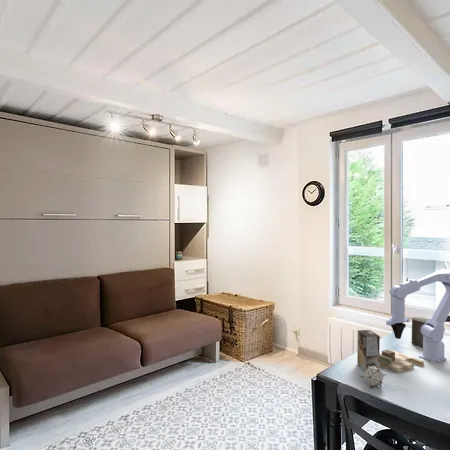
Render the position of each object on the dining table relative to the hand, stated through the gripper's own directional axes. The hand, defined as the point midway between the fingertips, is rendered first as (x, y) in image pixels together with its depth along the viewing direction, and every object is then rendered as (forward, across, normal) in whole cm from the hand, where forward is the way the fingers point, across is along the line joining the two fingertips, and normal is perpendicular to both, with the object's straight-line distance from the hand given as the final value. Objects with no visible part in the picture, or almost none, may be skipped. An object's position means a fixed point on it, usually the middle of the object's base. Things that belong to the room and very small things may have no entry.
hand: (397, 338), depth 171 cm
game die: (+10, +36, +16) cm, 41 cm away
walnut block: (+7, +12, +4) cm, 15 cm away
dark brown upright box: (+10, -29, -7) cm, 31 cm away
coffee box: (+10, +24, +3) cm, 26 cm away
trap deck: (+9, +7, +4) cm, 12 cm away
